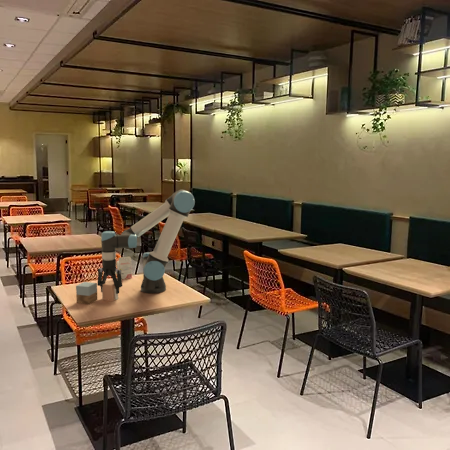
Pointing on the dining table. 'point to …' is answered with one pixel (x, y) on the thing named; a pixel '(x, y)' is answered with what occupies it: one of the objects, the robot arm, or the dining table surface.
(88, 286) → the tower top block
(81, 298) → the tower base block
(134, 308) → the dining table surface
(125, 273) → the ink cartridge box
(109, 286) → the terracotta block
